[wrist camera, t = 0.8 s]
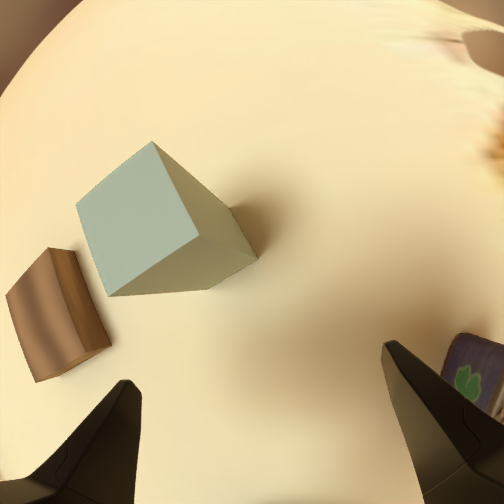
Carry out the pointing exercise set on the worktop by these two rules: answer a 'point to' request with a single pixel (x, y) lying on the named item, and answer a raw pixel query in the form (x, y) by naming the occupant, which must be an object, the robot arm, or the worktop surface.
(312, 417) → the worktop surface
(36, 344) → the base brick
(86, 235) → the tall block
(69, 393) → the worktop surface
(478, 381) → the flask
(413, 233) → the worktop surface
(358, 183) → the worktop surface
